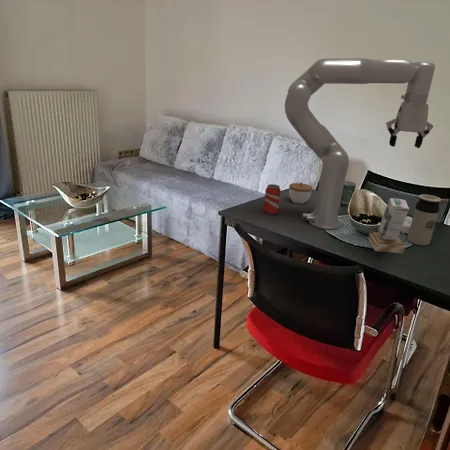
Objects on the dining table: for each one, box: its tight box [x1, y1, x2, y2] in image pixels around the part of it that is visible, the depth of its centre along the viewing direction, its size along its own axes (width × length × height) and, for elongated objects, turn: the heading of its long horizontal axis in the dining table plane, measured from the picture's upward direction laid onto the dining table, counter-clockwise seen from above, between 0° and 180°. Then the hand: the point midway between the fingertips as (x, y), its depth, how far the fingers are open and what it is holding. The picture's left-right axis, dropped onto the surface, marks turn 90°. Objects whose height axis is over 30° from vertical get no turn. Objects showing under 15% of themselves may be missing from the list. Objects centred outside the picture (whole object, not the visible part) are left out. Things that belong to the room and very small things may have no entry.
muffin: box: [400, 215, 413, 235], centre depth 161 cm, size 6×6×7 cm
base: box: [368, 231, 406, 254], centre depth 147 cm, size 10×10×4 cm
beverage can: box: [263, 183, 282, 215], centre depth 171 cm, size 6×6×12 cm
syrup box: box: [377, 198, 410, 241], centre depth 142 cm, size 6×6×14 cm
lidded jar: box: [288, 182, 313, 205], centre depth 189 cm, size 11×11×9 cm
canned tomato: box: [340, 180, 357, 209], centre depth 188 cm, size 8×8×11 cm
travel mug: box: [406, 194, 442, 246], centre depth 150 cm, size 8×8×18 cm
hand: (404, 146), depth 149 cm, fingers open, 9 cm apart
